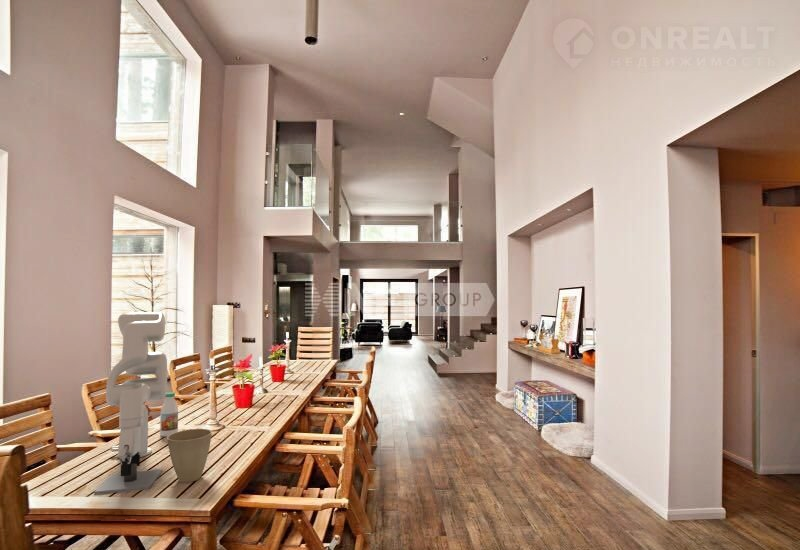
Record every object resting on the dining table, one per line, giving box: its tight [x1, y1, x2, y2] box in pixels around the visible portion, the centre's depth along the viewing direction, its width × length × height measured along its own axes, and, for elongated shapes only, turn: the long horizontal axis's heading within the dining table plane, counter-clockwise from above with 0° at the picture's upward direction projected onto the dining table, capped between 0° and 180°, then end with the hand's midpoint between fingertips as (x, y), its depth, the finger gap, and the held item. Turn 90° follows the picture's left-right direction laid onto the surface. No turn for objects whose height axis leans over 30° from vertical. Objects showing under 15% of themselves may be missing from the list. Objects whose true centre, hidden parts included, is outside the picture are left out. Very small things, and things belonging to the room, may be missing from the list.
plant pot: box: [166, 428, 213, 483], centre depth 170 cm, size 15×15×16 cm
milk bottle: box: [159, 391, 179, 438], centre depth 227 cm, size 8×8×20 cm
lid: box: [93, 464, 163, 496], centre depth 167 cm, size 17×17×6 cm
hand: (130, 470), depth 167 cm, fingers open, 9 cm apart
